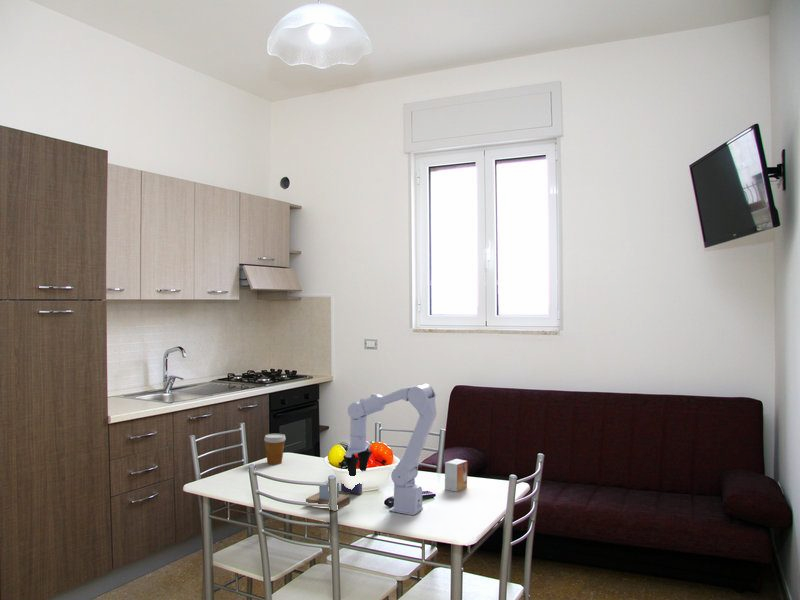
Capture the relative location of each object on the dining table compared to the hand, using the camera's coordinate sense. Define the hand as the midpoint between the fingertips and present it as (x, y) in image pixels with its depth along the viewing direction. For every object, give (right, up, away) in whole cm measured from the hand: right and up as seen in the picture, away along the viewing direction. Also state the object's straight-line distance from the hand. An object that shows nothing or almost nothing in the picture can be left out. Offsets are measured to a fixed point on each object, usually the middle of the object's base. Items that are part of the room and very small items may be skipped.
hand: (357, 473), depth 221 cm
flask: (-3, -11, +11) cm, 16 cm away
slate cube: (-10, -8, -4) cm, 13 cm away
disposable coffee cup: (-40, -10, +51) cm, 66 cm away
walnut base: (-10, -10, -3) cm, 15 cm away
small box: (+37, -11, +18) cm, 43 cm away
